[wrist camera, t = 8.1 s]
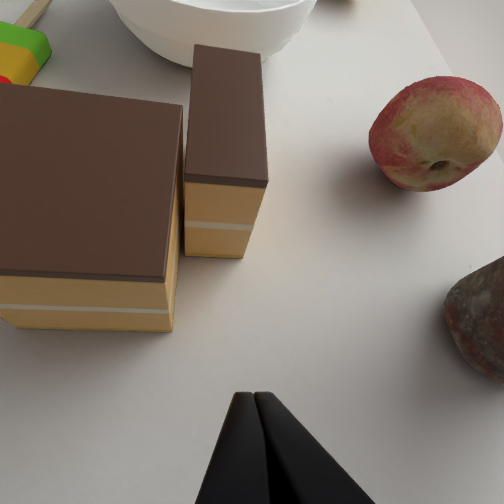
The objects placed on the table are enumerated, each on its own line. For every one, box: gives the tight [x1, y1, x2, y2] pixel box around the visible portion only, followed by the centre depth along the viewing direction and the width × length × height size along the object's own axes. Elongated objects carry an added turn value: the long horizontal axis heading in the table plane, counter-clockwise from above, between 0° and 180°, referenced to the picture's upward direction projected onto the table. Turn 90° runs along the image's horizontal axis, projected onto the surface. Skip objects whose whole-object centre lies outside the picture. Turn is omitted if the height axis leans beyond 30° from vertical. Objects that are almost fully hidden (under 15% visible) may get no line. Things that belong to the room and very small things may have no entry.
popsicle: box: [0, 0, 52, 86], centre depth 26 cm, size 6×15×2 cm, turn 171°
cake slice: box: [184, 44, 269, 258], centre depth 21 cm, size 12×4×8 cm, turn 2°
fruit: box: [369, 76, 503, 192], centre depth 25 cm, size 8×8×8 cm
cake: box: [0, 82, 184, 332], centre depth 17 cm, size 9×8×8 cm
